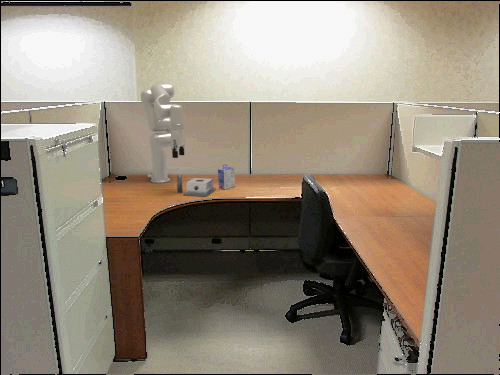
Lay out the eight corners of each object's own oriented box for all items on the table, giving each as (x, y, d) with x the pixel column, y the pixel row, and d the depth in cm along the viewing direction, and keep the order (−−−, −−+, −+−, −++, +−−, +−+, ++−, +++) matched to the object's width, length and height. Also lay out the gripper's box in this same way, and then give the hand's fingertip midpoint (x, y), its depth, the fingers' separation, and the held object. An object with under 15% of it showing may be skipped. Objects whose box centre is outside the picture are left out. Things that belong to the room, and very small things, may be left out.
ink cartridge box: (228, 185, 278) (228, 163, 274) (235, 186, 274) (235, 164, 271) (217, 188, 270) (217, 165, 267) (224, 189, 267) (224, 166, 264)
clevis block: (183, 195, 254) (182, 183, 252) (194, 188, 271) (193, 176, 269) (206, 197, 251) (206, 184, 249) (216, 189, 268) (215, 178, 266)
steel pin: (176, 192, 261) (175, 176, 258) (178, 191, 264) (177, 175, 261) (181, 192, 260) (180, 176, 258) (183, 191, 263) (182, 175, 260)
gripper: (177, 125, 261) (178, 154, 265) (164, 128, 245) (166, 158, 249) (188, 125, 260) (190, 154, 264) (177, 128, 243) (178, 159, 247)
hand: (178, 156), depth 256 cm, fingers open, 9 cm apart
